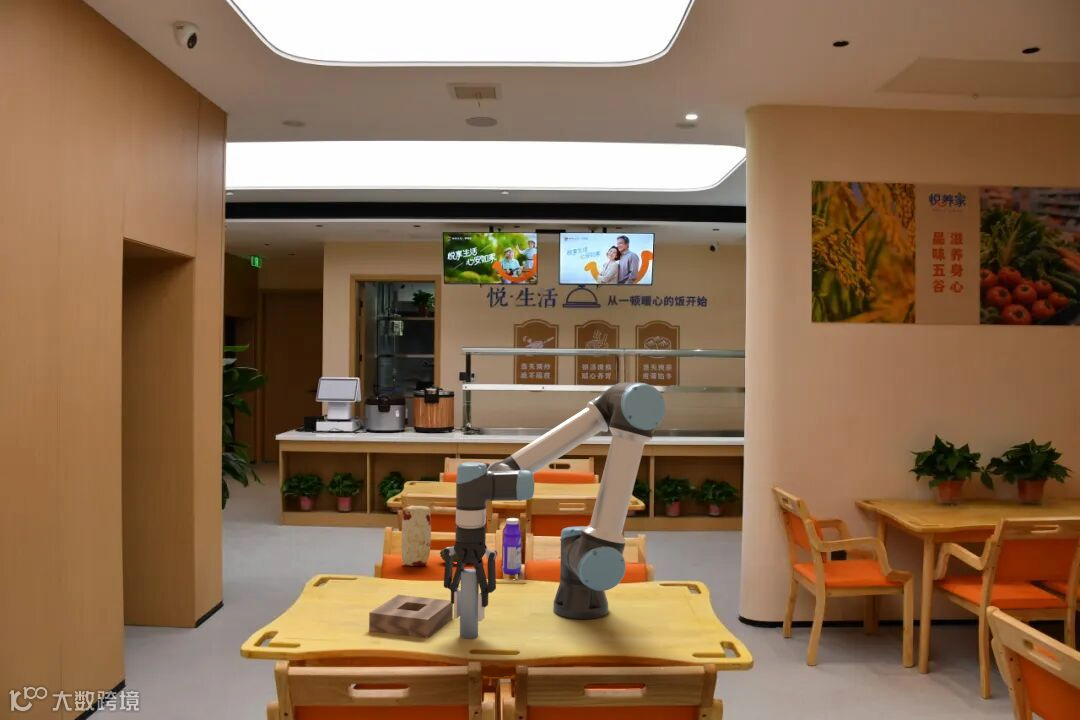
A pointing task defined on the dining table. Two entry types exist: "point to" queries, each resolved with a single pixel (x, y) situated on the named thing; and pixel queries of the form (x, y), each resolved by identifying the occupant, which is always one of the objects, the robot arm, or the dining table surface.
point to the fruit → (455, 556)
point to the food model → (416, 535)
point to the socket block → (411, 616)
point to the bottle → (512, 547)
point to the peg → (469, 604)
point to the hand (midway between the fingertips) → (469, 617)
